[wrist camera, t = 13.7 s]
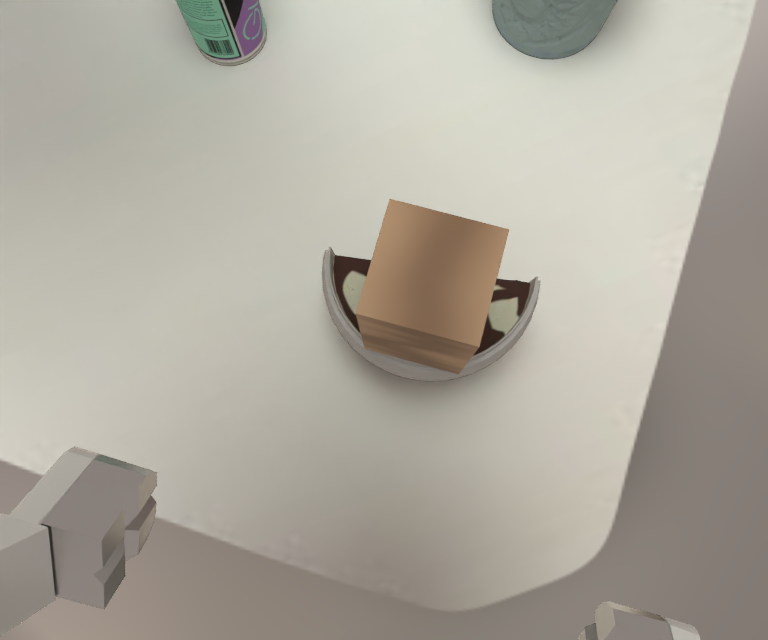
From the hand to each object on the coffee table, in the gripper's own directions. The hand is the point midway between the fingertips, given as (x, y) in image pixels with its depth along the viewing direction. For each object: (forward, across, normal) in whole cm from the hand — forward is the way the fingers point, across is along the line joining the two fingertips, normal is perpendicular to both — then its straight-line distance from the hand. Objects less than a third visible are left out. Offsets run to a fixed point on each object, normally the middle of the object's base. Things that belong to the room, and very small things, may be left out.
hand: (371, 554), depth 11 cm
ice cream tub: (+28, -1, +14) cm, 32 cm away
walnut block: (+21, 0, +7) cm, 22 cm away
